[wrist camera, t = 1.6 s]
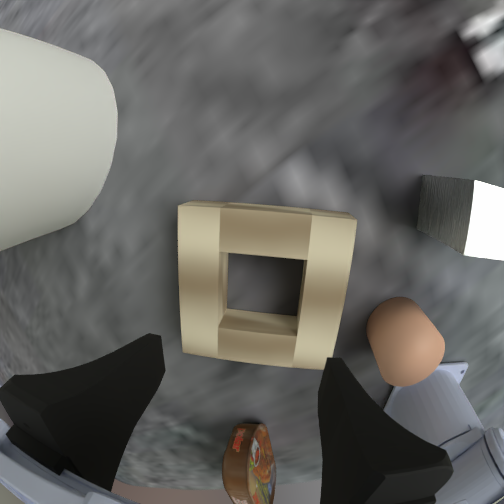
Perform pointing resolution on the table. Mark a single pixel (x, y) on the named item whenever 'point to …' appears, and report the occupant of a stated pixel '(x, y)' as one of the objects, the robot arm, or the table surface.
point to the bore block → (264, 244)
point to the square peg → (463, 215)
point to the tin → (249, 465)
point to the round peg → (404, 342)
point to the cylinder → (50, 137)
